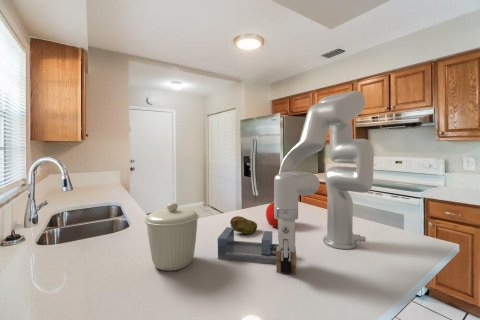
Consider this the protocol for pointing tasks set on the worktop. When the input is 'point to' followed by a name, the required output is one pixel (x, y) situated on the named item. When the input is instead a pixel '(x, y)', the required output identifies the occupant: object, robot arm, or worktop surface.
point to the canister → (172, 236)
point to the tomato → (271, 216)
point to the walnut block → (292, 258)
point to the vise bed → (242, 249)
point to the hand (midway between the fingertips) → (286, 268)
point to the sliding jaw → (267, 243)
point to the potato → (243, 225)
